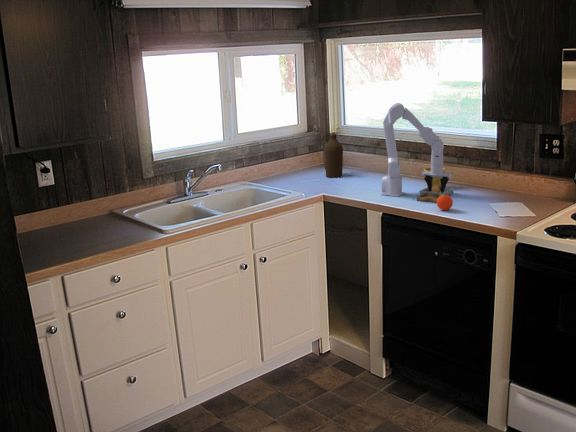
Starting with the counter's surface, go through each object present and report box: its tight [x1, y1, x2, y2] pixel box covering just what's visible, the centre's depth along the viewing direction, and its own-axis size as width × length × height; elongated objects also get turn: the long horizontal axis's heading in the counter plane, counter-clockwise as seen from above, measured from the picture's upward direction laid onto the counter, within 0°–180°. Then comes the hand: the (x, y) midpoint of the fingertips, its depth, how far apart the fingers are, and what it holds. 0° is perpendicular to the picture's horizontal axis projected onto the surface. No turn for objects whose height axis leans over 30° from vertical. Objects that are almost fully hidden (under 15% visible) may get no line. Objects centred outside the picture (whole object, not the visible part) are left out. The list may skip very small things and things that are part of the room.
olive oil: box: [323, 131, 344, 179], centre depth 355 cm, size 11×11×25 cm
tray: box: [416, 193, 441, 204], centre depth 295 cm, size 11×9×2 cm
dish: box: [418, 186, 454, 196], centre depth 305 cm, size 12×12×2 cm
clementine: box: [436, 195, 454, 211], centre depth 277 cm, size 8×7×7 cm
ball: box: [432, 184, 441, 193], centre depth 305 cm, size 5×5×5 cm
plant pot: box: [423, 166, 446, 188], centre depth 319 cm, size 10×10×10 cm
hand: (436, 191), depth 305 cm, fingers open, 6 cm apart
